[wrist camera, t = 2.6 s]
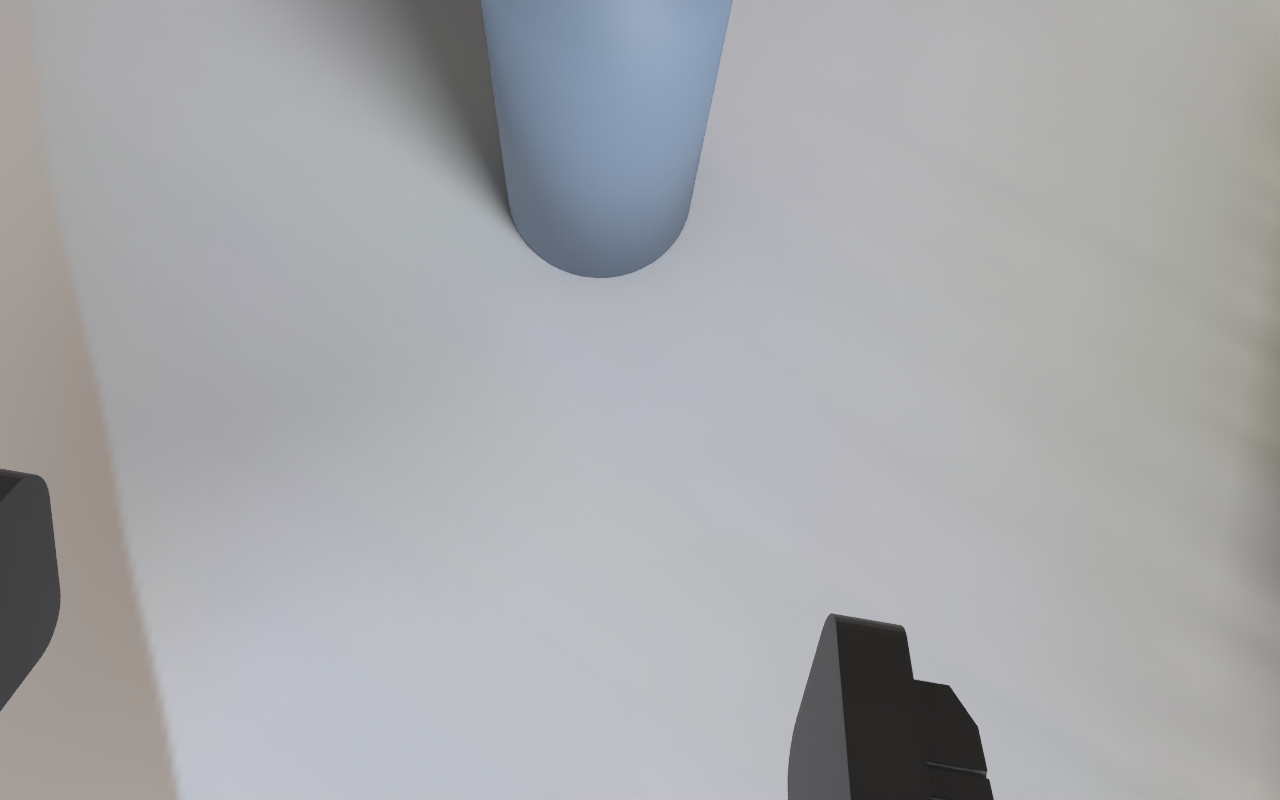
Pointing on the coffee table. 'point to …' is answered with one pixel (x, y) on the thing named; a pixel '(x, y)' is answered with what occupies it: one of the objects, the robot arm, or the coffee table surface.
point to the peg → (602, 122)
